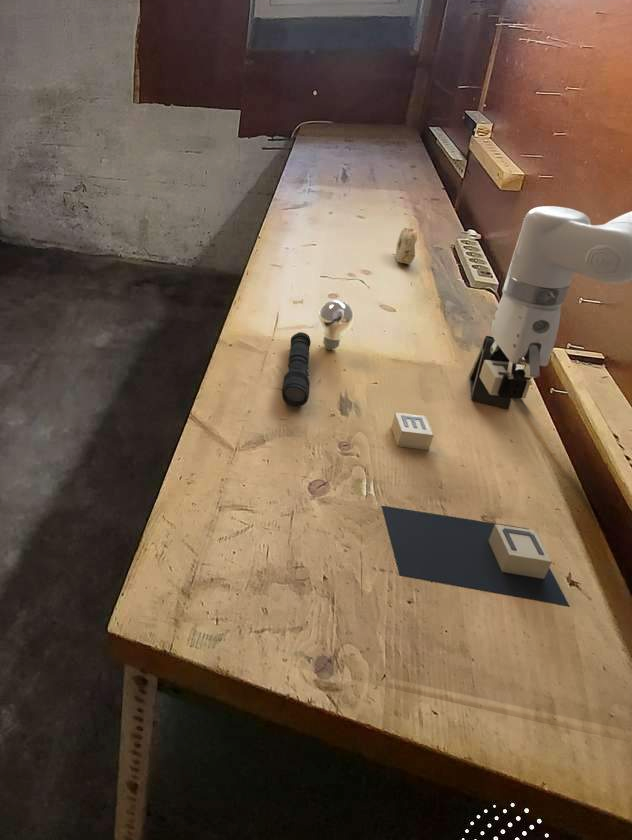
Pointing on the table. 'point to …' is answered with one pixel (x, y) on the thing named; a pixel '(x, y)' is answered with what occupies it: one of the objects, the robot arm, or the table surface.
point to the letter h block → (497, 376)
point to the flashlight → (297, 371)
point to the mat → (459, 555)
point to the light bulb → (335, 321)
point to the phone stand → (476, 383)
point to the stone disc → (406, 245)
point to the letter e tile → (412, 431)
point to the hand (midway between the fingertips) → (502, 385)
